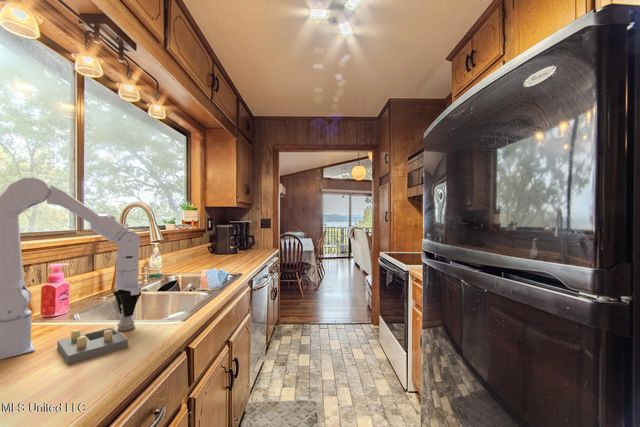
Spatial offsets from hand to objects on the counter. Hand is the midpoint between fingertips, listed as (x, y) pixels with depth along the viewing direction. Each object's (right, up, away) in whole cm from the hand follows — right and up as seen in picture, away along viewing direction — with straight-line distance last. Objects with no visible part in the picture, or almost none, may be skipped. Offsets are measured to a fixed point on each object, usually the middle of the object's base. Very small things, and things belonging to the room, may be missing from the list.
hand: (126, 314), depth 88 cm
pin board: (0, -4, -13) cm, 14 cm away
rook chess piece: (0, -5, 0) cm, 5 cm away
